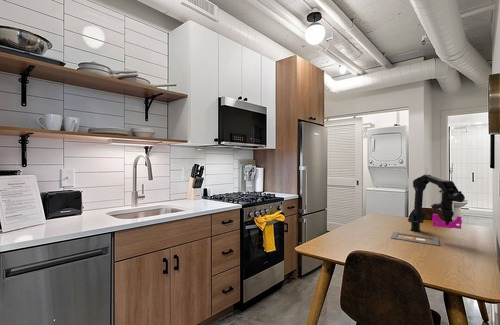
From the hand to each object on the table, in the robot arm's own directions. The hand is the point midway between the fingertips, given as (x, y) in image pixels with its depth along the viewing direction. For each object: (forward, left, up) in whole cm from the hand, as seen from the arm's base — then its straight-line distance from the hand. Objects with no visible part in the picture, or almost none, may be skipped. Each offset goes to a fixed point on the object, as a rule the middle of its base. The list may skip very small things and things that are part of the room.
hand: (446, 223), depth 171 cm
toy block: (0, 0, -2) cm, 2 cm away
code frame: (+3, -18, -12) cm, 22 cm away
